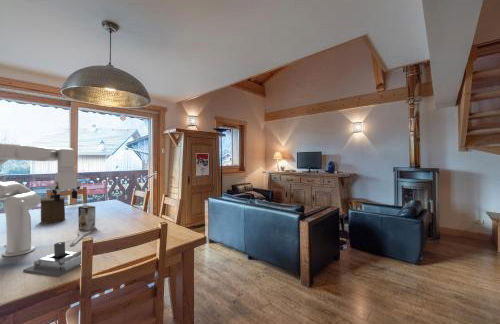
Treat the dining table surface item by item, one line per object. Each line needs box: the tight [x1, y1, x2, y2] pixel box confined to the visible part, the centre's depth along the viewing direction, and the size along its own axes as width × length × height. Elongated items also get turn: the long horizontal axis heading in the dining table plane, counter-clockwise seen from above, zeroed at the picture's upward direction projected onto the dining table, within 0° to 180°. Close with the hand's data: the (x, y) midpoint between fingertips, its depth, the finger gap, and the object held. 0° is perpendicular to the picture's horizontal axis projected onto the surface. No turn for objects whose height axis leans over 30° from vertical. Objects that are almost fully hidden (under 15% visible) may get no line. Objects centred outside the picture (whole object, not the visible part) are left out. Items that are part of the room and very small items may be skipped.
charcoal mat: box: [22, 264, 81, 278], centre depth 110 cm, size 20×16×1 cm
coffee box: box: [77, 205, 96, 231], centre depth 166 cm, size 9×6×16 cm
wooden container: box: [40, 193, 66, 224], centre depth 185 cm, size 15×15×22 cm
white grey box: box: [38, 250, 82, 271], centre depth 109 cm, size 15×11×5 cm
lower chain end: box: [33, 259, 61, 270], centre depth 110 cm, size 15×11×3 cm
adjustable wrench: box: [69, 230, 91, 247], centre depth 145 cm, size 25×6×2 cm, turn 15°
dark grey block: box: [53, 241, 66, 259], centre depth 109 cm, size 4×4×10 cm
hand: (66, 199), depth 129 cm, fingers open, 9 cm apart
